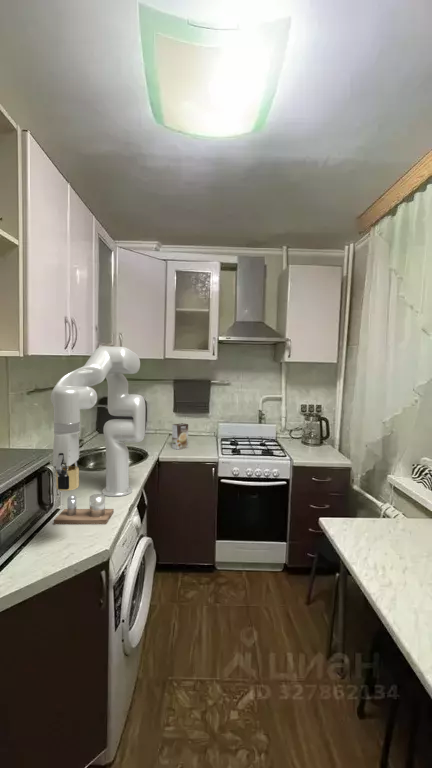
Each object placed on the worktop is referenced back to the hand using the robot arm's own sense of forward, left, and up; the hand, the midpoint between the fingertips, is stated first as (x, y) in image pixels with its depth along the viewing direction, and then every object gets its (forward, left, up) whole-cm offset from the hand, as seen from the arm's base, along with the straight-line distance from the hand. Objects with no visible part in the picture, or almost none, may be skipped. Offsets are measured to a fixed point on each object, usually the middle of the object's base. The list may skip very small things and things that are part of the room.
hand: (67, 484), depth 116 cm
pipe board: (-16, 0, -17) cm, 23 cm away
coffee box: (-132, +26, -17) cm, 136 cm away
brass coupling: (0, 0, -1) cm, 1 cm away
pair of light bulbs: (-16, +1, -16) cm, 22 cm away
